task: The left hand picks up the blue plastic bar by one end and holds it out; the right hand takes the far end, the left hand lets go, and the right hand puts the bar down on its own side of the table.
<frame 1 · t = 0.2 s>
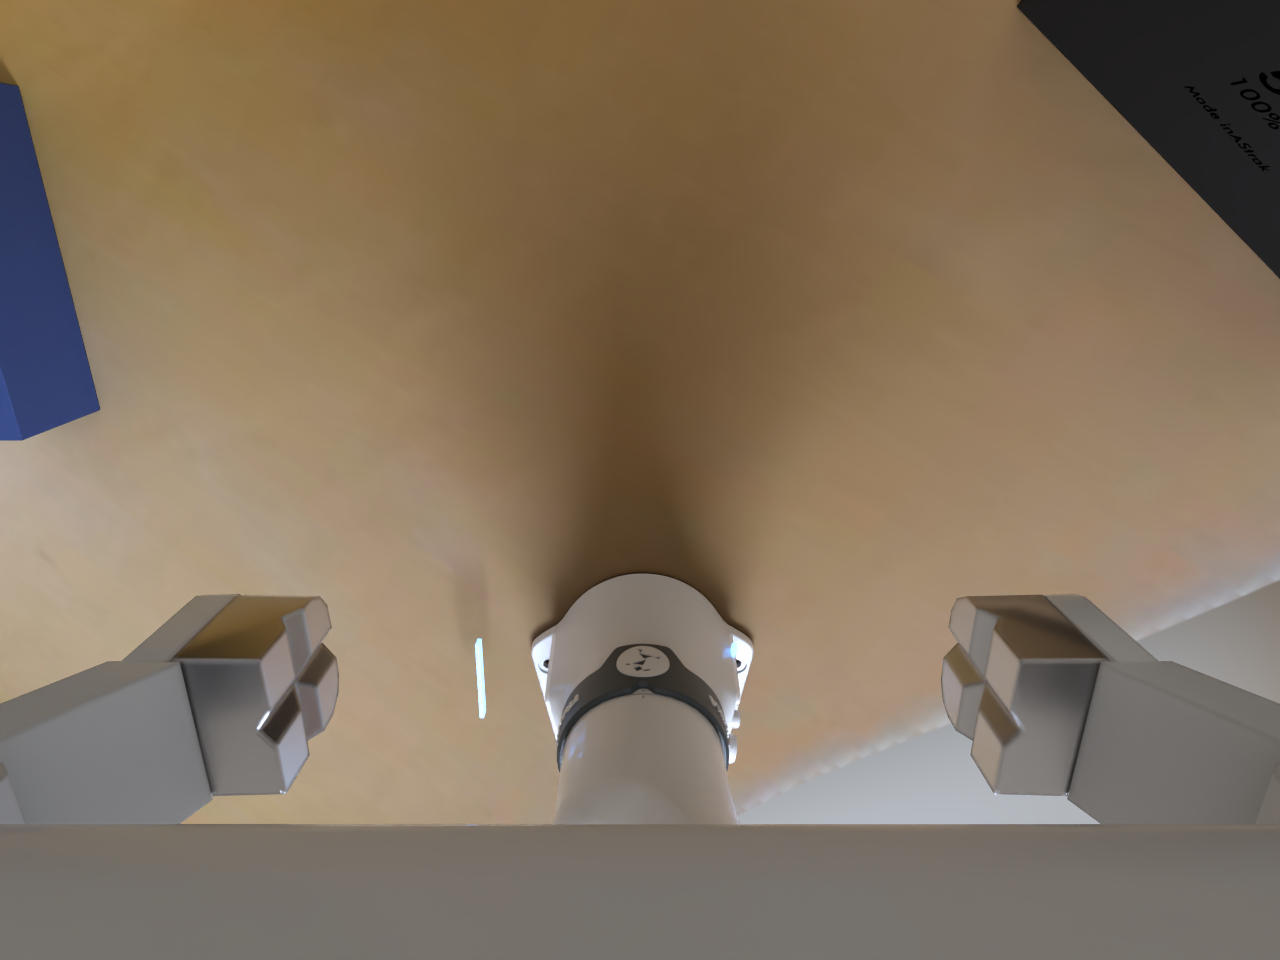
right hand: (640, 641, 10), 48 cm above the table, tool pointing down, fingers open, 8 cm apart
bar: (24, 259, 54), on the table
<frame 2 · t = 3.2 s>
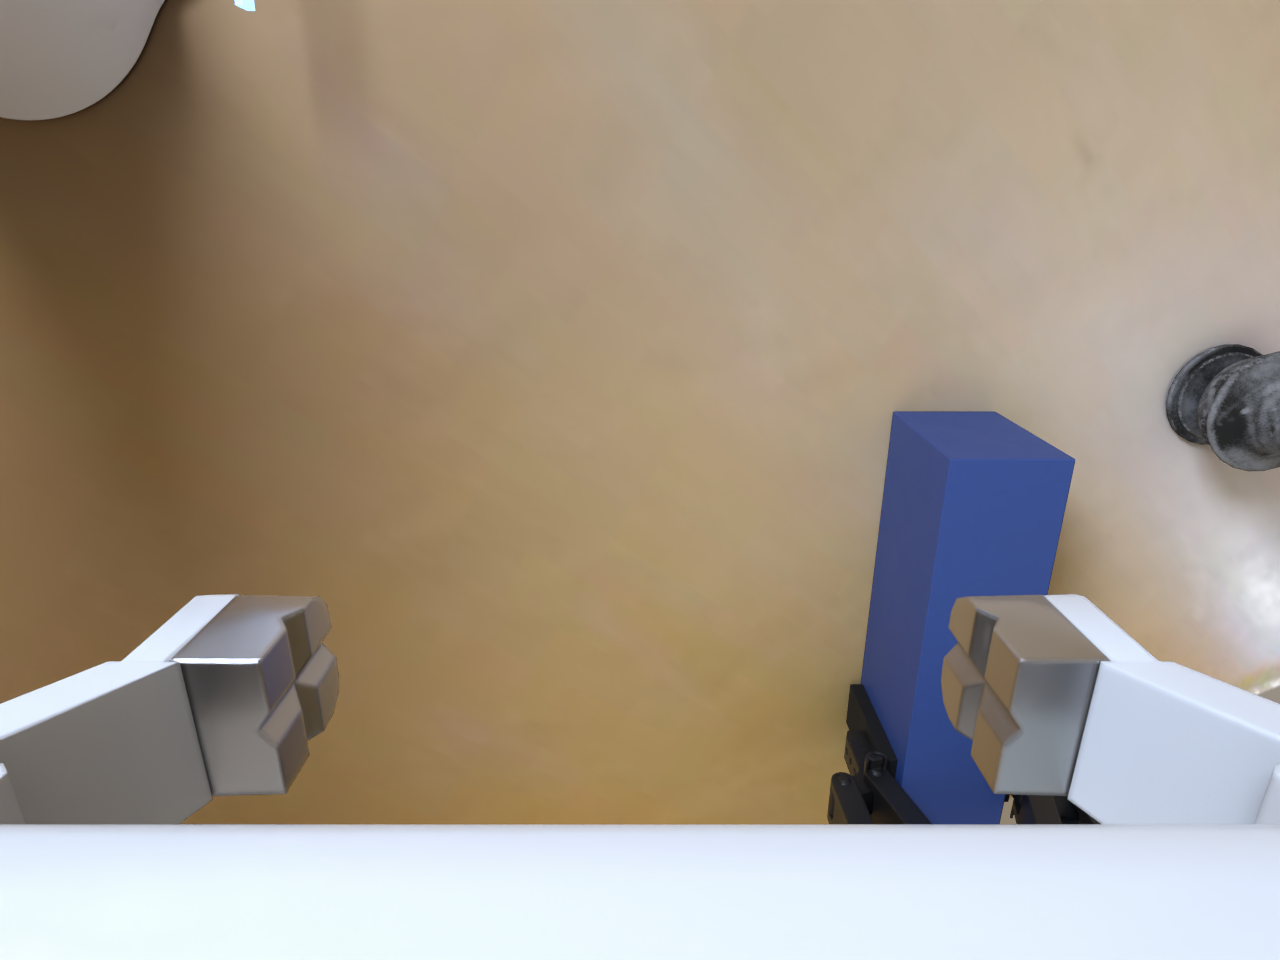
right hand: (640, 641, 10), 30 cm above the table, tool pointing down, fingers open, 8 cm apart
bar: (917, 597, 44), on the table, touching left hand
dark grey ridged piece: (1215, 394, 40), on the table
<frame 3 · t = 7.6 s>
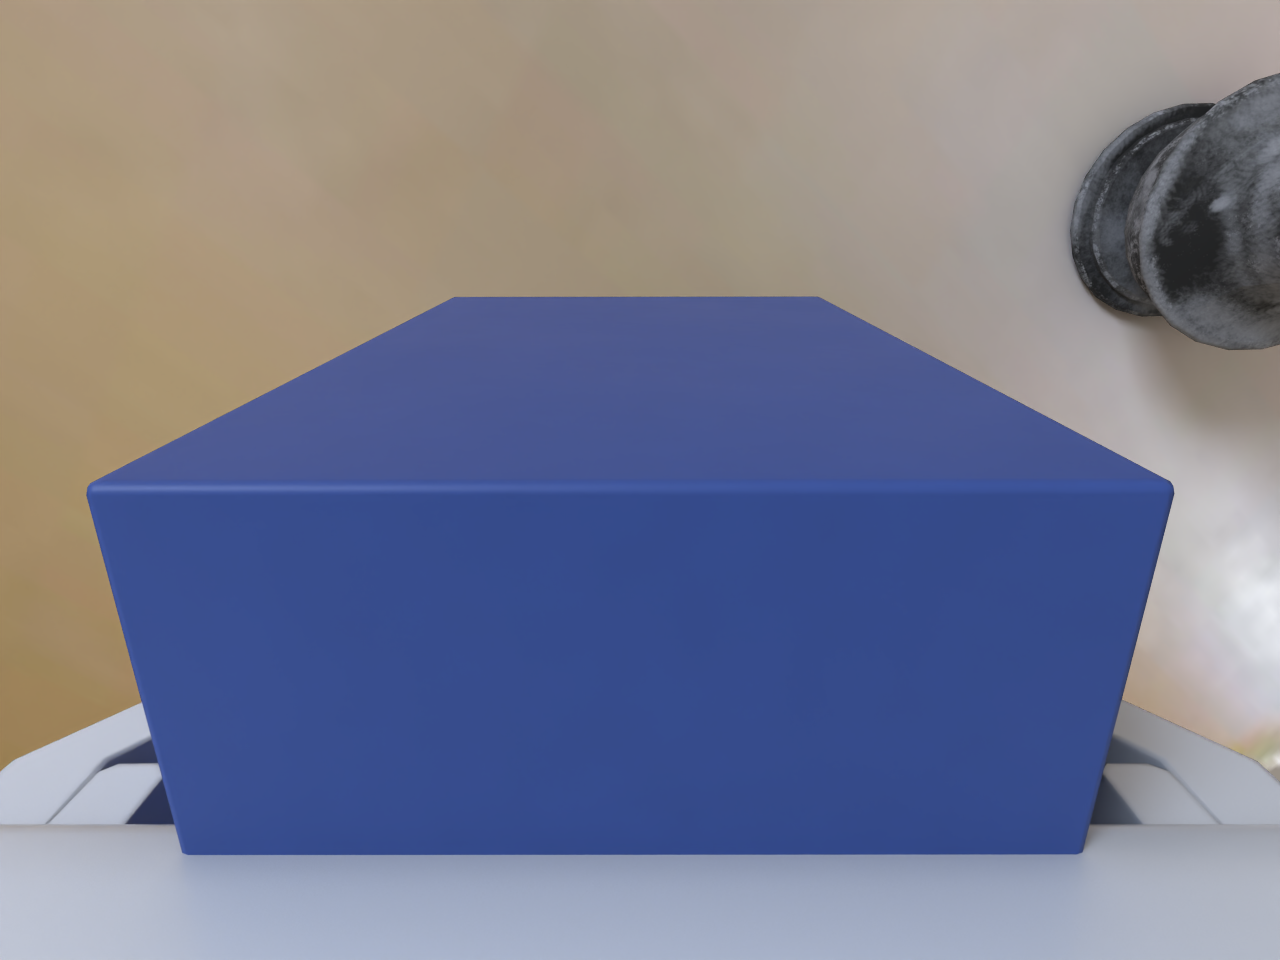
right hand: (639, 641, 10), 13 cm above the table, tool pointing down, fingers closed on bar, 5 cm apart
bar: (637, 874, 15), point 10 cm above the table, touching right hand, left hand
dark grey ridged piece: (1167, 214, 20), on the table
when the left hand's fingers open (11 cm above the table, at t = 8.5 s): bar stays where it is, held by the right hand.
when the right hand's fingers open (4 cm above the table, at t = 17.2 s): bar drops 1 cm, on the table.
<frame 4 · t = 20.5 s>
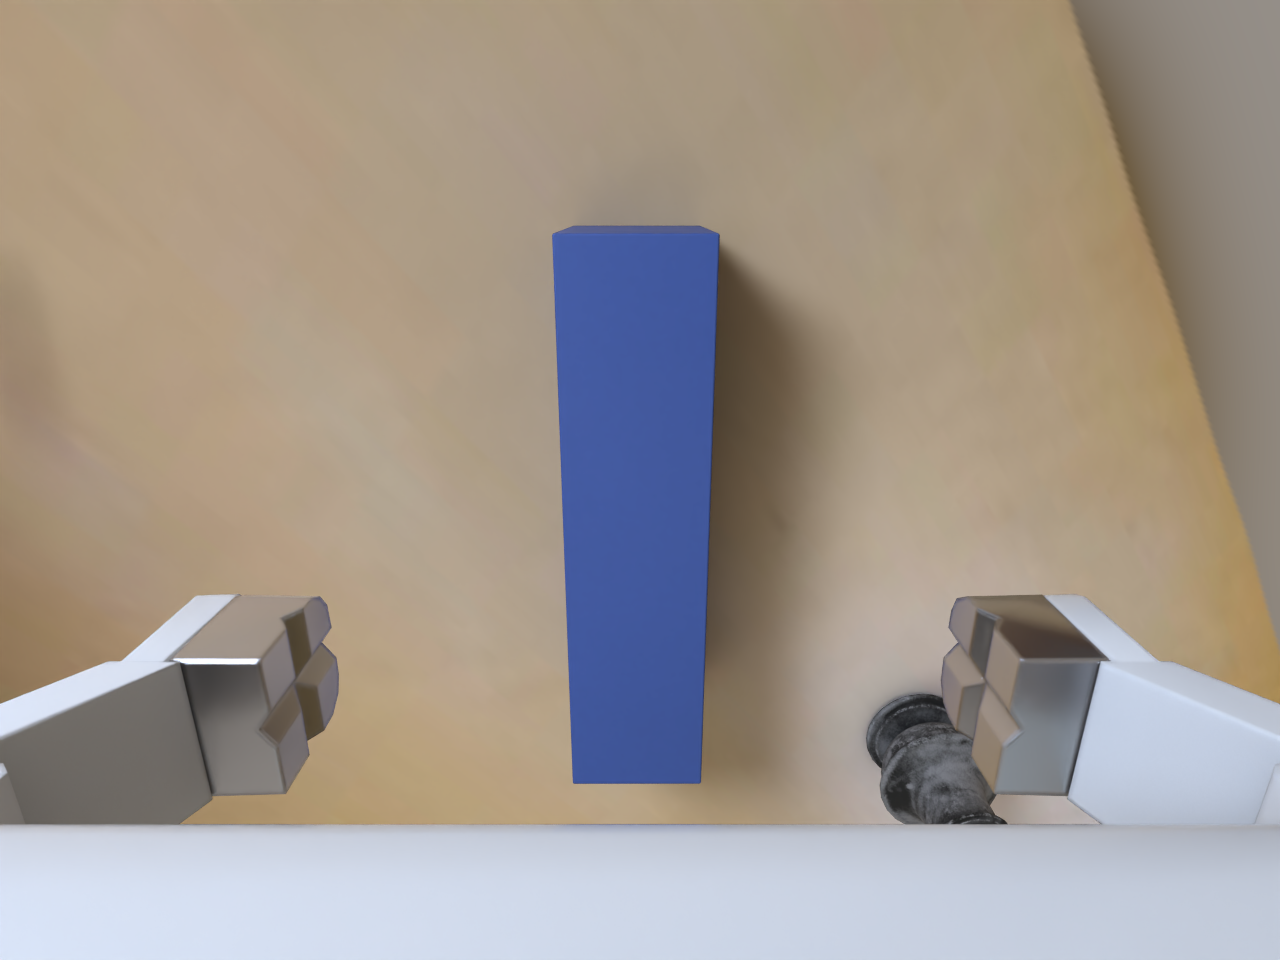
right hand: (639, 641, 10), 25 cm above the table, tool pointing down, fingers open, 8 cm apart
bar: (637, 474, 36), on the table
dark grey ridged piece: (914, 733, 41), on the table
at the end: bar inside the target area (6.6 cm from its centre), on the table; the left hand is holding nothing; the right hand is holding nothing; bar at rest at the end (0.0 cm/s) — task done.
